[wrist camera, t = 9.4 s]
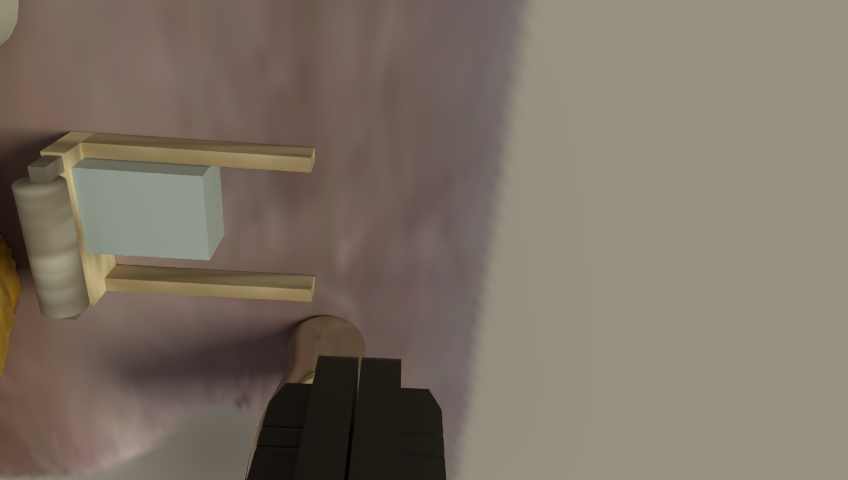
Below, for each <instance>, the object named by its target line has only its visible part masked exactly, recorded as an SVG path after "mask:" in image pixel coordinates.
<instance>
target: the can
mask: <svg viewBox="0 0 848 480" xmlns="http://www.w3.org/2000/svg"><path fill="white" fill-rule="evenodd" d="M18 4H19V1H18V0H0V46H1V45H2V44H3V43H4V42H5V41H6V40H8V39H9V38H10V36H11V34H12V32H13V30H14V28H15V25H16V23H17V21H18Z"/></svg>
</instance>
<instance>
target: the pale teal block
mask: <svg viewBox="0 0 848 480" xmlns="http://www.w3.org/2000/svg"><path fill="white" fill-rule="evenodd" d="M71 170H72V175H73V181H74V186H75V192H76V197H77V203H78V208H79V214H80V219H81V225H82V230H83V236H84V241H85V247H86V252H87V253H94V254H111V255H128V256H144V257H161V258H178V259H195V260H210V259H211V257H212V255H213V253H214V252H215V250H216V248H217V247H218V245H219V243H220V242H221V240H222V238H223V236H224V224H223V210H222V196H221V182H220V168H219V166H205V165H190V164H175V163H160V162H145V161H129V160H114V159H99V158H83V159H82V160H81V161H79V162H78V163H77V164H75V165H74V166H73V167H71Z"/></svg>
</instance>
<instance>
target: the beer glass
mask: <svg viewBox="0 0 848 480" xmlns="http://www.w3.org/2000/svg"><path fill="white" fill-rule="evenodd" d="M365 352H366V349H365V342H364V339H363V337H362V335H361V333H360V332H359V331H358V329H357V328H356V327H354V326H353V325H352V324H350V323H349V322H347V321H345V320H343V319H340V318H337V317H332V316H318V317H314V318H310V319H308V320H306V321H304V322H302V323H301V324H299V325H298V326H297V327H296V328H295V330H294V331H293V332H292V334H291V336H290V339H289V343H288V366H287V370H286V372H285V374H284V376H283V378H282V380H281V382H280V383H279V385H278V387H277V388H276V390H275V392H274V394H273V395H272V397H271V399H272V398H273V397H274V396H275V395H276V394H277V393H278V391H279V390H280V389H281V388H282V387H283V386H284V385H285V384H286V383H307V384H312V383H313V378H314V373H315V369H316V364H317V359H318V356H319V355H323V356H343V357H359V369H358V373H359V370H360V368H361V360H362V357H365ZM357 397H358V394H357ZM271 399H270V400H271ZM267 407H268V404H267V406H266V409H265V411H264V413H263V415H262V417H261V419H260V422H259V425H258V427H257V430H256V433H255V436H254V440H253V444H252V448H251V452H250V456H249V461H248V466H247V471H246V477H245V480H247V476H248V473H249V469H250V466H251V462H252V459H253V455H254V452H255V450H256V447H257V441H258V438H259V435H260V431H261V430H262V424H263V421H264V417H265V414H266V410H267Z"/></svg>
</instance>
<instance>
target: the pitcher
mask: <svg viewBox="0 0 848 480" xmlns="http://www.w3.org/2000/svg"><path fill="white" fill-rule="evenodd" d="M16 266H17V265H16V261H15V259H13V258H12V248H10V247H8V246H7V243H6V242H5V241H4V238H3V235H2V234H0V377H1V375H2V371H3V367H4V364H5V360H6V356H7V352H8V344H9V334H10V332H11V331H12V329H13V327H14V313H16V312H14V311H15V309H16V307H17V305H18V304H17V303H18V300H19V299H18V296H19V295H20V293H21V290H22V287H21V284H20V281H19V279H20V278H19V275H18V273H17V272H16V270H17V269H16Z"/></svg>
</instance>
